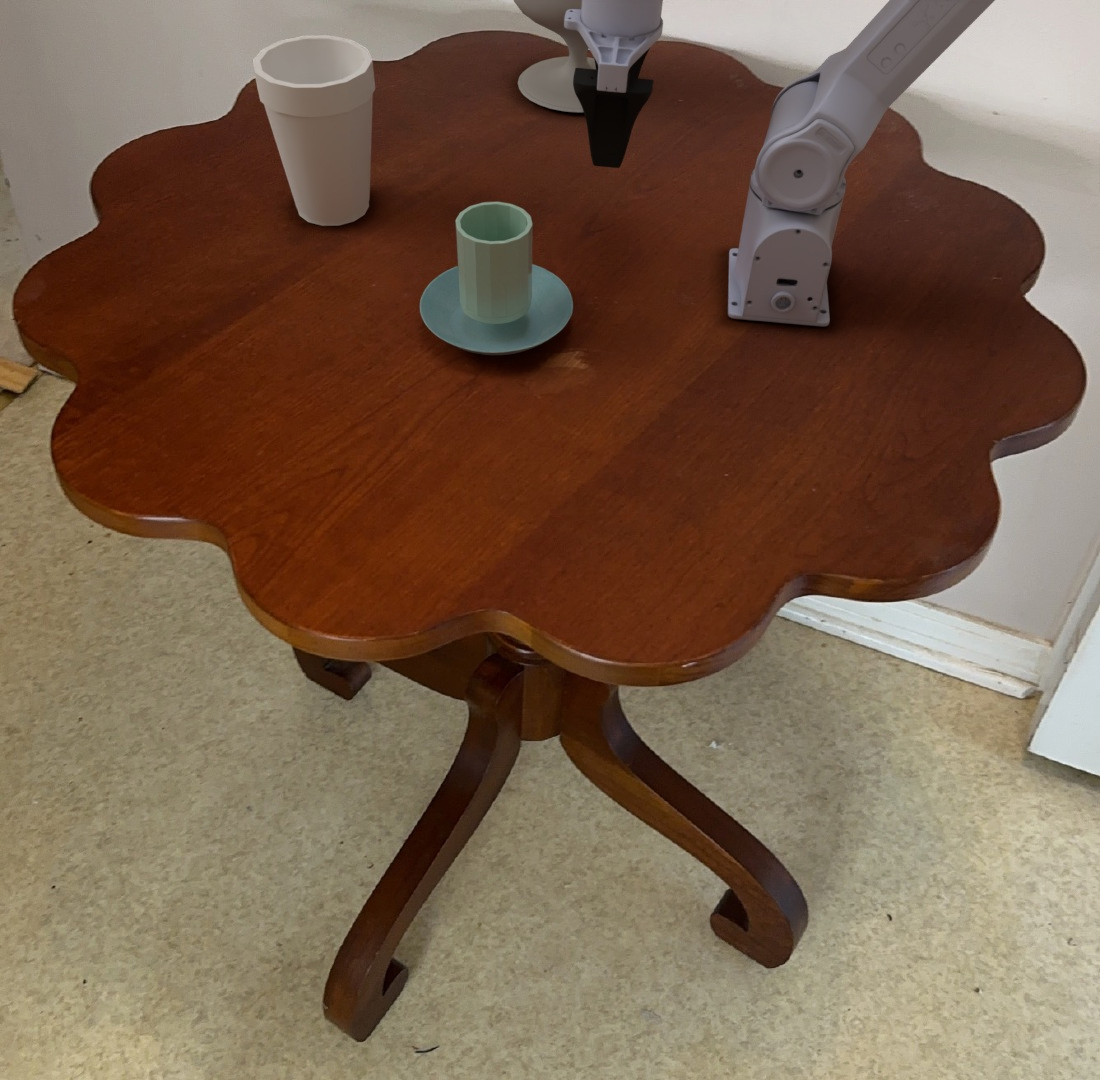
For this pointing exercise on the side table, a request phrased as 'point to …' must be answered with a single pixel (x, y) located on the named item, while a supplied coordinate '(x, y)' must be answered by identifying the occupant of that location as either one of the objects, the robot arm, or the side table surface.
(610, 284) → the side table surface
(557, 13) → the chalice
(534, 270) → the saucer
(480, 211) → the glass
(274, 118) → the foam cup
